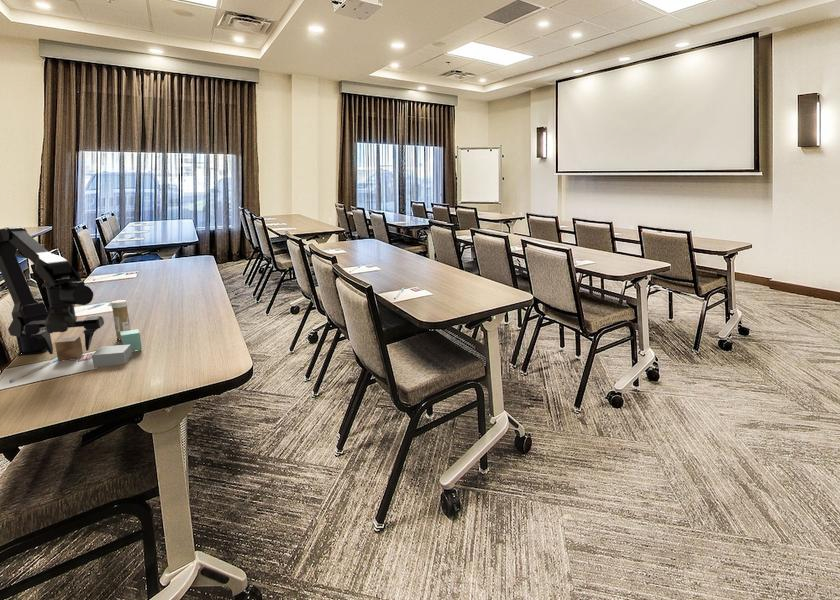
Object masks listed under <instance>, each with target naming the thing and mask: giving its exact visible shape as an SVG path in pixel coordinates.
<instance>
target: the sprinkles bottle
mask: <svg viewBox="0 0 840 600" xmlns="http://www.w3.org/2000/svg"><path fill="white" fill-rule="evenodd" d="M110 304H111V305H110V306H111V309H112V314H113V317H112V318H113V323H114V330H115V333H116V340H117V339H120V340H121V335H120V332H121V331H128V330H131V326H130V325H131V324H130V317H129V313H128V312H129V311H128V302H127V300H126V299H117V300H112V301H111V302H110Z"/></svg>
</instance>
